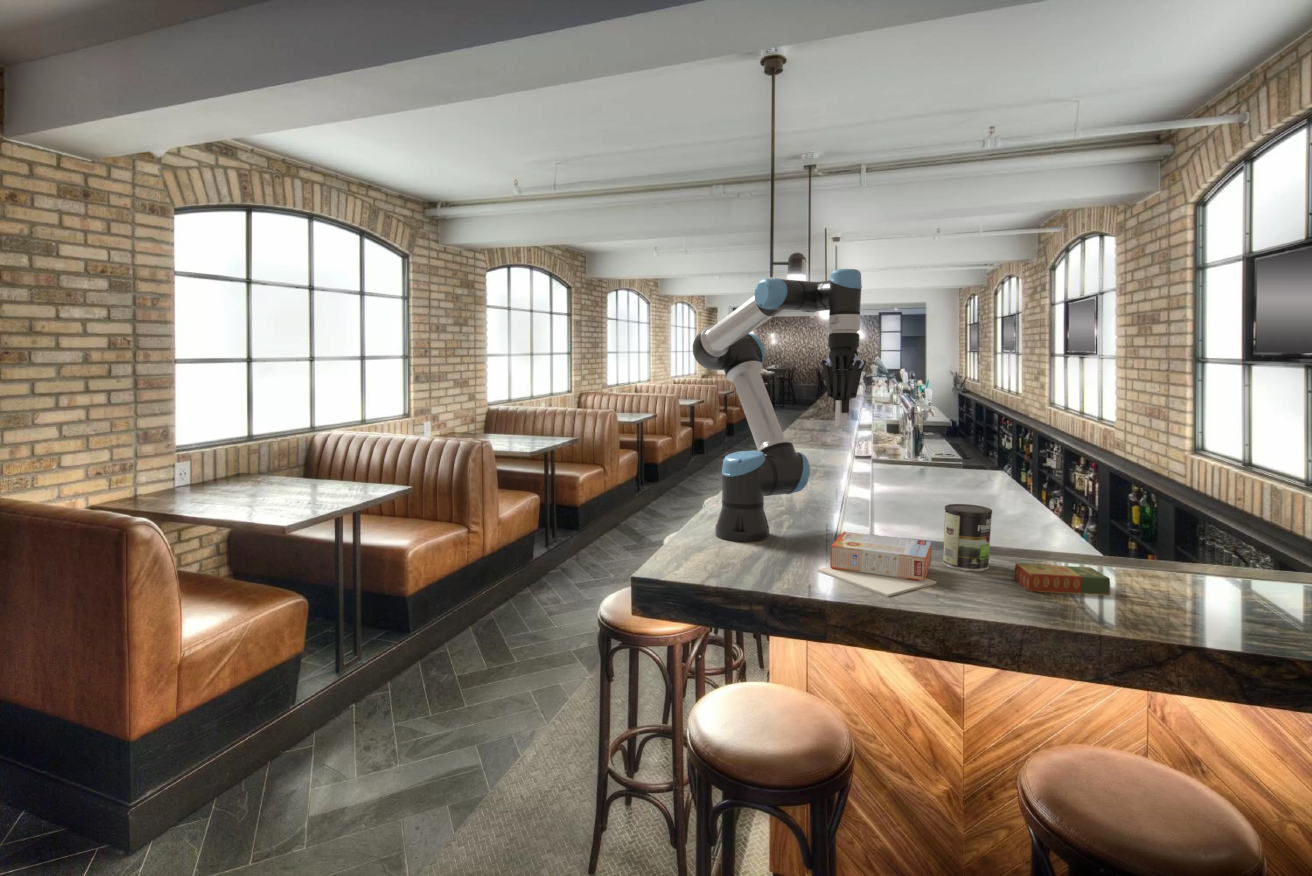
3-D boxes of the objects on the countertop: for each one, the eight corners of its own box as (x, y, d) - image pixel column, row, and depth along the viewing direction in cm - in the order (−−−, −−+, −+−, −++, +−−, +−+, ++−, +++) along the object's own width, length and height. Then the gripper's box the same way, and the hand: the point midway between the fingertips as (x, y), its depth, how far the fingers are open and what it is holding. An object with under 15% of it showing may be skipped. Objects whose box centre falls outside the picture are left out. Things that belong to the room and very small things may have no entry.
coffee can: (996, 566, 160) (999, 508, 159) (977, 574, 153) (981, 514, 152) (953, 556, 168) (956, 501, 166) (934, 564, 161) (936, 507, 160)
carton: (1013, 580, 151) (1014, 562, 150) (1090, 584, 148) (1091, 565, 148) (1028, 593, 142) (1029, 573, 142) (1110, 596, 140) (1111, 577, 140)
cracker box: (829, 569, 156) (925, 582, 146) (829, 544, 155) (926, 555, 146) (842, 554, 168) (932, 565, 158) (843, 530, 168) (932, 540, 158)
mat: (817, 571, 156) (817, 569, 156) (864, 560, 164) (864, 558, 164) (887, 596, 139) (887, 594, 139) (936, 583, 147) (936, 581, 147)
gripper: (814, 333, 172) (811, 424, 174) (853, 331, 161) (850, 428, 163) (835, 333, 176) (832, 423, 178) (874, 332, 165) (871, 427, 167)
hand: (840, 425), depth 171 cm, fingers closed
